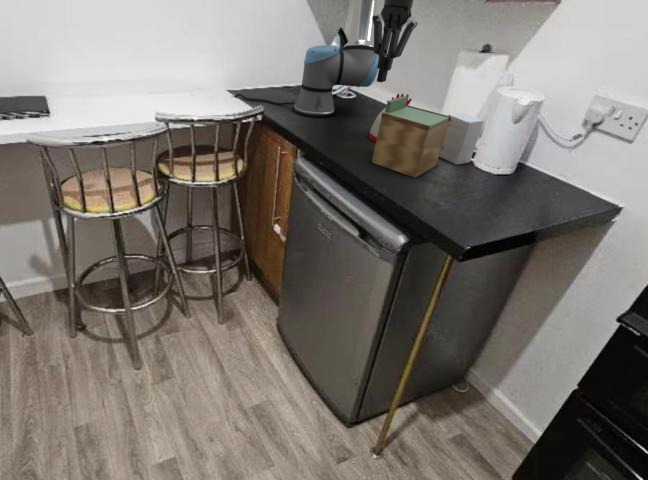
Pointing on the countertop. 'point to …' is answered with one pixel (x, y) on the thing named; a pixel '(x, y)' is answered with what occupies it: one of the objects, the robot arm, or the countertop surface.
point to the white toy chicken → (376, 124)
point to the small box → (461, 138)
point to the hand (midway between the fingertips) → (381, 81)
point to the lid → (413, 113)
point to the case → (408, 144)
